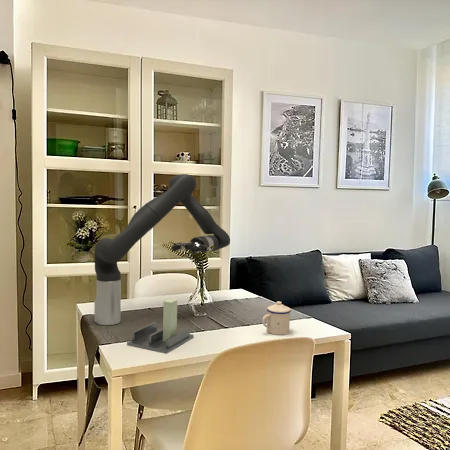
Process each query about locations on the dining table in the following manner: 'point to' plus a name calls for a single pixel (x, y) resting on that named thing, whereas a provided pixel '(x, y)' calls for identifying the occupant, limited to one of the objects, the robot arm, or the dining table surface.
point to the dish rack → (158, 338)
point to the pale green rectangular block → (169, 318)
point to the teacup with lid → (277, 319)
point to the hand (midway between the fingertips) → (182, 249)
